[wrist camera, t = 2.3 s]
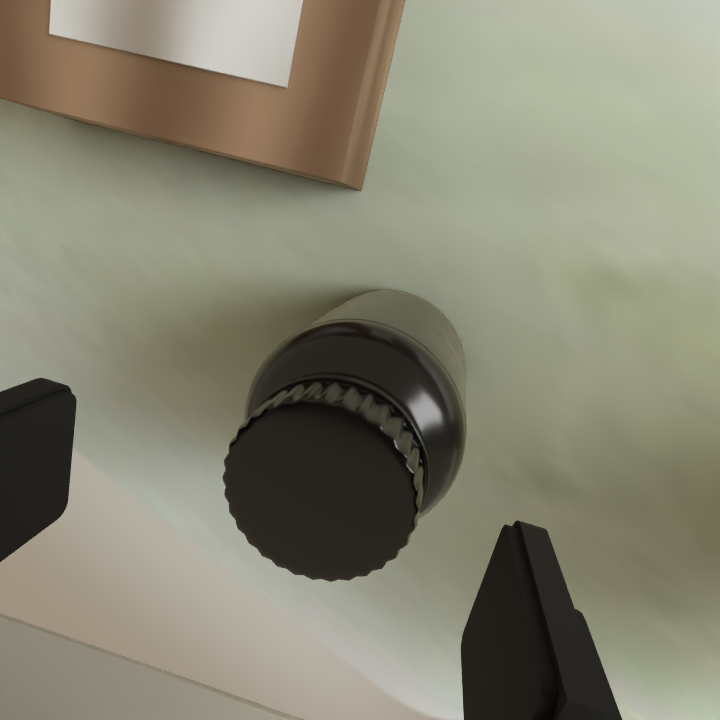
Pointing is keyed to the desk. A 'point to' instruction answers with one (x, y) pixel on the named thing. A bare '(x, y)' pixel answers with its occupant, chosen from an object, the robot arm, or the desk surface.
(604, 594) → the desk surface
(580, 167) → the desk surface
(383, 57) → the brown picture frame
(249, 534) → the supplement bottle
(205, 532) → the desk surface
